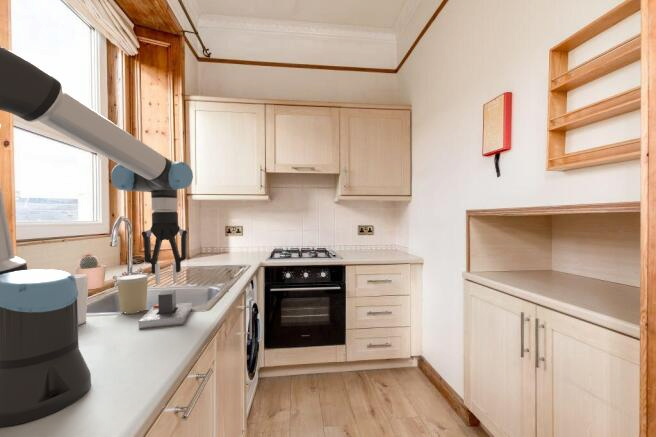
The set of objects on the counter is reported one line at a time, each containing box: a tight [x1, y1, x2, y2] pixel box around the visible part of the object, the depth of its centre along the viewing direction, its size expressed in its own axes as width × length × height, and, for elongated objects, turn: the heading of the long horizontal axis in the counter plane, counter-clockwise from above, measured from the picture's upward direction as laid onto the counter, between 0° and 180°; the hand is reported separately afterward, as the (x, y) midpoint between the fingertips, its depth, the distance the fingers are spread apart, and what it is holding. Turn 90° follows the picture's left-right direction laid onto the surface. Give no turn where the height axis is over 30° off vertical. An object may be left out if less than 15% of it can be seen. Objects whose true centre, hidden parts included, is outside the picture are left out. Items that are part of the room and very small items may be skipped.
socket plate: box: [138, 302, 193, 330], centre depth 100 cm, size 16×12×3 cm
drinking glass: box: [72, 273, 89, 326], centre depth 96 cm, size 7×7×15 cm
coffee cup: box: [116, 274, 149, 315], centre depth 109 cm, size 9×9×12 cm
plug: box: [157, 290, 177, 315], centre depth 100 cm, size 5×4×8 cm
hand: (166, 282), depth 100 cm, fingers open, 4 cm apart
